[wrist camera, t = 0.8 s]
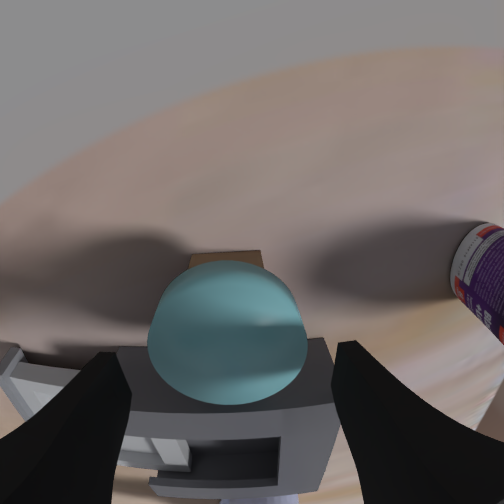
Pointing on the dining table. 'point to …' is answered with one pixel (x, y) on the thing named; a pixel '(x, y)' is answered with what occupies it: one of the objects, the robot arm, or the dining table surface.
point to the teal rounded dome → (227, 334)
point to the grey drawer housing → (238, 432)
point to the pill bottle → (482, 275)
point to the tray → (52, 382)
